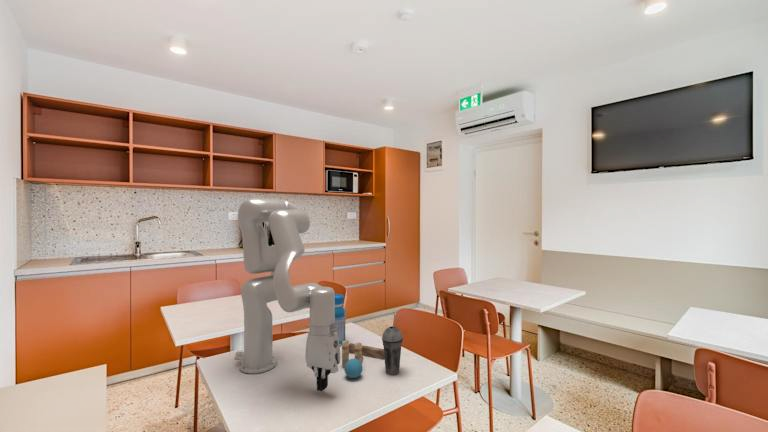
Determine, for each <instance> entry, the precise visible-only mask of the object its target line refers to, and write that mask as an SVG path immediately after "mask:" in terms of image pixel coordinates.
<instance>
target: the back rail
mask: <svg viewBox="0 0 768 432" xmlns="http://www.w3.org/2000/svg"><path fill="white" fill-rule="evenodd" d="M349 354H354V355H355V343H351V342H349ZM362 356H363V357H367V358H374V359H380V360H384V361H385V358H384V348H379V347H373V346H368V345H362Z"/></svg>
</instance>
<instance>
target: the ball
mask: <svg viewBox="0 0 768 432" xmlns="http://www.w3.org/2000/svg"><path fill="white" fill-rule="evenodd" d="M343 369H344V373H345V375H346V376H347V377H348V378H350V379H357V378H358V377H360V376H361V374H362V373H363V364H361V362H360V361H359V360H358V359H354V358H350V359H349V360H348V361H347V362H346V364H345V368H343Z"/></svg>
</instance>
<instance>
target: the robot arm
mask: <svg viewBox="0 0 768 432" xmlns="http://www.w3.org/2000/svg"><path fill="white" fill-rule="evenodd" d="M237 210H238V211H237V221H238V225H239V228H240V232H241V238H242V252H243V265H244V269H245V271H246V272H247V273H248V274H250V275H254V274H255V275H256V274H263V273H270V275H263V276H257V277H253V278H250V279H248V280H246V281H245V282H243V284H242V286H241V288H240V298H241V301H242V306H243V327H244V329H243V330H244V331H243V332H244V333H243V335H244V336H243V347H244V348H243V351H236V352H235V356H234V360H235V361H240V363H239V367H238V368H239V369H238V370H240V371H241V372H242V373H244V374H249V375H250V374H251V375H252V374H253V375H255V374H259V373H260V374H261V373H264V372H265V373H266V372H267V371H270V370H272V369H273V368H275V367H276V366H277V364H278V359H277V358H276V357H275V356H273V313H272V311H271V309H270V308H269V306H268V305H267V304H268V303H271V302H275V301H277V302H278V305H279V306H280V308H281V310H283V311H284V312H286V313H294V312H299V311H301V310H305V309H309V331H308V333H307V337H306V342H305V354H304V355H305V357H304V358H305V363H306V367H307V368H309V369H311V370H312V372H314V377H315V378H316V390H317V391H319V392H324V390H325V389H327V387H328V385H329V383H328V382H329V375H330V374H336V373H337V372H339V366H338V365H340V363H341V348H340V346H341V345H340V346H339V339H338V335H337V333H336V332H337V331H338V327H336V326H335V294H336V293H335V290H334V288H333V287H330V286H322V285H321V284H318V283H316V282H307V283H301V284H297V285H292V284H291V283H292V282H291V280H290V278H291V277H290V268H291V265H292V264H293V262H294V261H296V260H297V259H299V258H301V257H302V256H303V255H304V254H305V247H304V245H303V241H302V239H301V235H300V234H304V233H307V231H308V230H309V228H310V226H311V225H310V224H311V221H310V217H309V215H308V214H307V213H306V211H305V210H303V209H302V208H300V207H298V206H297V205H295V204H294V203H292V202H290V201H288V200H286V199H281V198H266V197H265V198H264V197H263V198H262V197H253V198H248V199H246V200H244V201H242V202H241V203H240V205H239V207H238V209H237ZM261 223H268V228H269V230H270V234H271V236H272V237H271V238H272V240H273V242H274V245H269V241H268V239H269V238H268V234H267V233H268V232H267V231H266V229H265V227H264V226H263V225H262V224H261Z"/></svg>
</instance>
